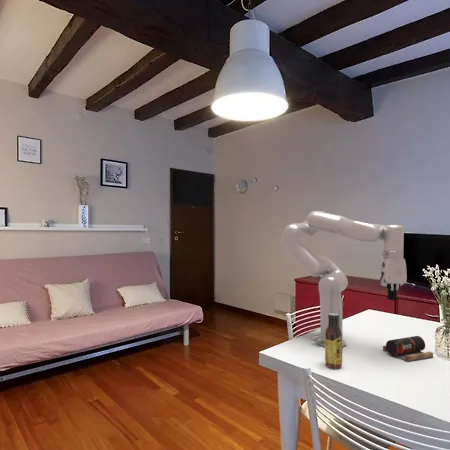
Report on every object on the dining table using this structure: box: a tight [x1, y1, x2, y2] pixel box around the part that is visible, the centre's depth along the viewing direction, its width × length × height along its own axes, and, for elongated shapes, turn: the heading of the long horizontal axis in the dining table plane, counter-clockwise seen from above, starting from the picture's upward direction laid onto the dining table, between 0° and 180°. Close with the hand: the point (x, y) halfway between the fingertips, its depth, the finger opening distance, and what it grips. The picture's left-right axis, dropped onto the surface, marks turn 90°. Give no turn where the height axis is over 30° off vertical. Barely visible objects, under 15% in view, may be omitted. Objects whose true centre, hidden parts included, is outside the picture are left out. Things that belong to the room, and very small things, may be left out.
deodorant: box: [385, 335, 426, 356], centre depth 144 cm, size 6×6×15 cm
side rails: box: [382, 345, 434, 363], centre depth 144 cm, size 13×13×2 cm
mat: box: [383, 350, 434, 363], centre depth 144 cm, size 13×13×1 cm
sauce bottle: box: [324, 313, 343, 370], centre depth 132 cm, size 7×6×20 cm
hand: (392, 299), depth 142 cm, fingers closed
